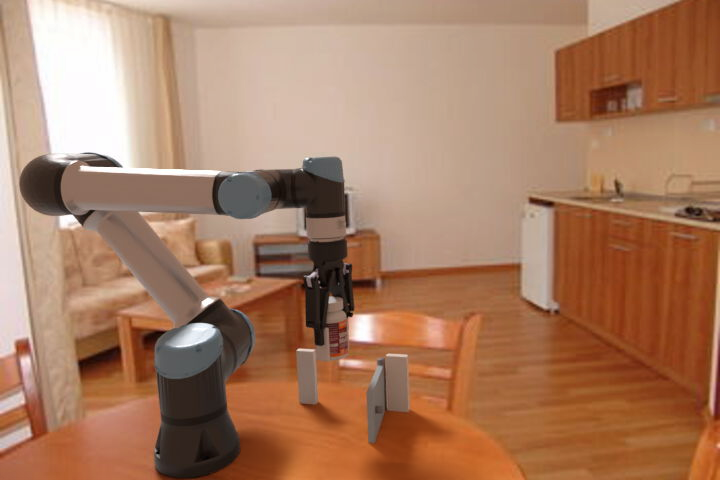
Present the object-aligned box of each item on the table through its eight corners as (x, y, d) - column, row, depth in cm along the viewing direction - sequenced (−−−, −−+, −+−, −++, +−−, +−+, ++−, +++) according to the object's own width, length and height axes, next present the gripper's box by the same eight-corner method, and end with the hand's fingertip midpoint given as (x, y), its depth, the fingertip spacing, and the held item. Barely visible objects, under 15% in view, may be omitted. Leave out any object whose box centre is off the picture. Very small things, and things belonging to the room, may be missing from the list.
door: (379, 406, 121) (377, 357, 119) (391, 407, 120) (390, 357, 119) (366, 442, 106) (364, 387, 104) (381, 443, 105) (379, 387, 104)
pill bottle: (346, 361, 108) (344, 303, 106) (314, 361, 108) (311, 304, 107) (349, 349, 114) (346, 295, 112) (319, 350, 114) (316, 296, 113)
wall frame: (299, 403, 124) (296, 350, 122) (301, 400, 126) (298, 348, 124) (408, 412, 118) (406, 357, 116) (409, 409, 119) (408, 354, 117)
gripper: (313, 247, 98) (321, 374, 101) (369, 232, 114) (373, 342, 117) (279, 245, 101) (288, 368, 105) (337, 230, 118) (343, 337, 121)
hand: (333, 354), depth 111 cm, fingers closed on pill bottle, 6 cm apart
